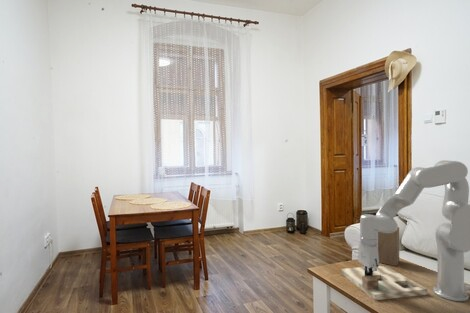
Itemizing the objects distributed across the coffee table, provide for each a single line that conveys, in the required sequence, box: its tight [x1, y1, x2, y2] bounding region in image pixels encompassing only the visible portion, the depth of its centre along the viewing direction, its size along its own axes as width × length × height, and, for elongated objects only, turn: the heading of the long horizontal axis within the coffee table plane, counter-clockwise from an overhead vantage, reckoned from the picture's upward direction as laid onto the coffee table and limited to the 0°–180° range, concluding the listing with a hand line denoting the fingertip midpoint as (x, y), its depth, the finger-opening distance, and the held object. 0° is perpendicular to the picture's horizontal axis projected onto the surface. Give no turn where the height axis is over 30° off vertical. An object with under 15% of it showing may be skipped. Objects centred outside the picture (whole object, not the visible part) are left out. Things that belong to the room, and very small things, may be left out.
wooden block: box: [377, 226, 400, 267], centre depth 168 cm, size 10×10×20 cm
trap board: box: [340, 264, 428, 301], centre depth 141 cm, size 26×28×2 cm
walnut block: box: [362, 276, 378, 289], centre depth 132 cm, size 5×5×4 cm
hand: (368, 279), depth 137 cm, fingers closed
